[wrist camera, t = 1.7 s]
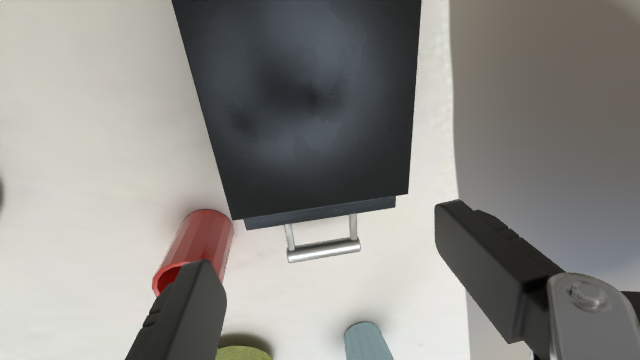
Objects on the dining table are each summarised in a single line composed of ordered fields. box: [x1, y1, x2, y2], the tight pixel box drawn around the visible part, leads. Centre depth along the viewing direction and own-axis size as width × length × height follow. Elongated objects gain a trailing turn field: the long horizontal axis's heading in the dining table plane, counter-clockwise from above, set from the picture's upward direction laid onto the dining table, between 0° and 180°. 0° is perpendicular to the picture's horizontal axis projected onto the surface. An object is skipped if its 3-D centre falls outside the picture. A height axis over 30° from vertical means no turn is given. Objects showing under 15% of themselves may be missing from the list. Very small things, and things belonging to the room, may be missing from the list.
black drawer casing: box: [172, 0, 421, 220], centre depth 20 cm, size 19×14×9 cm
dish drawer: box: [244, 196, 396, 263], centre depth 23 cm, size 23×12×7 cm, turn 5°
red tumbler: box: [152, 210, 234, 297], centre depth 27 cm, size 5×5×8 cm
